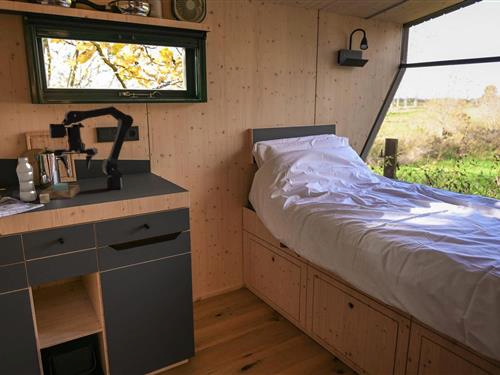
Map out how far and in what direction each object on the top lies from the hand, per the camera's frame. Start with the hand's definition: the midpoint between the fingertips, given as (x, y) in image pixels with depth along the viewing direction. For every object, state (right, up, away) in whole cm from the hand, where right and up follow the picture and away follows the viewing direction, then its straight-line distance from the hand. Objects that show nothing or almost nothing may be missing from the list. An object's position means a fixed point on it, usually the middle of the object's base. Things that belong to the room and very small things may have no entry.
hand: (78, 169), depth 181 cm
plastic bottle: (-17, -15, -11) cm, 26 cm away
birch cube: (-9, -16, -13) cm, 22 cm away
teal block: (-7, -12, -2) cm, 14 cm away
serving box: (-7, -13, -1) cm, 15 cm away
